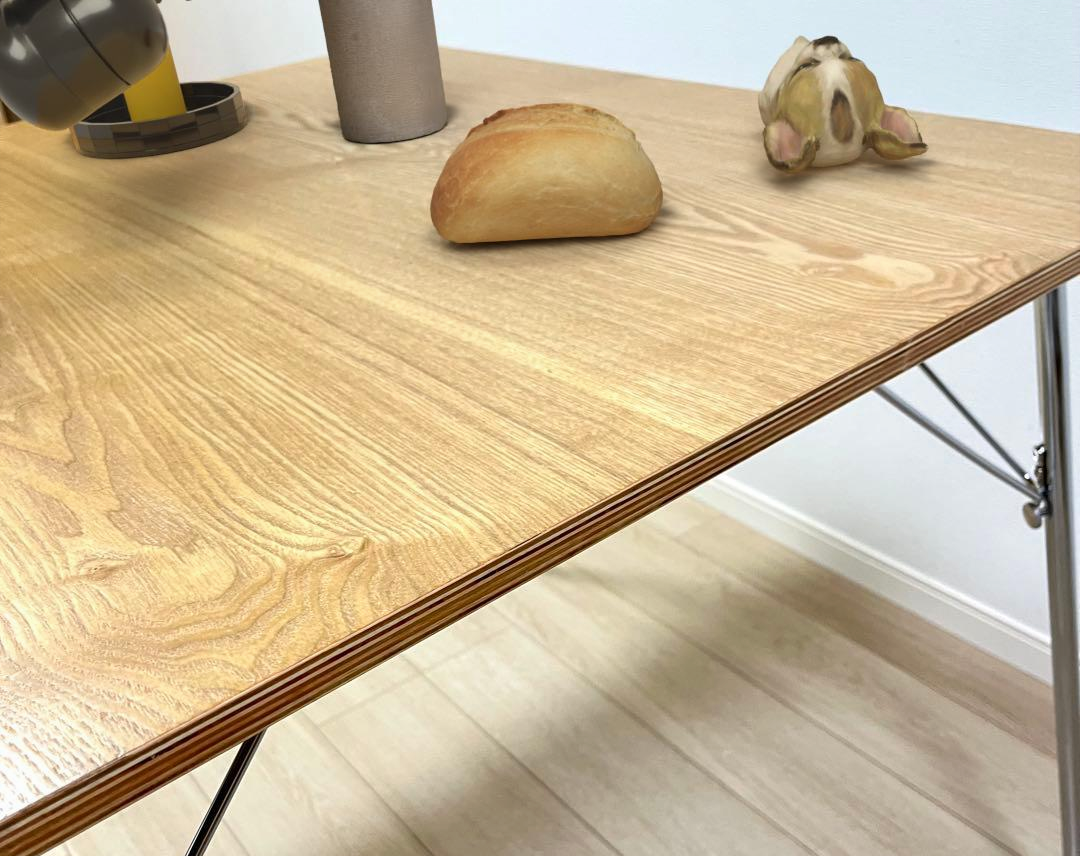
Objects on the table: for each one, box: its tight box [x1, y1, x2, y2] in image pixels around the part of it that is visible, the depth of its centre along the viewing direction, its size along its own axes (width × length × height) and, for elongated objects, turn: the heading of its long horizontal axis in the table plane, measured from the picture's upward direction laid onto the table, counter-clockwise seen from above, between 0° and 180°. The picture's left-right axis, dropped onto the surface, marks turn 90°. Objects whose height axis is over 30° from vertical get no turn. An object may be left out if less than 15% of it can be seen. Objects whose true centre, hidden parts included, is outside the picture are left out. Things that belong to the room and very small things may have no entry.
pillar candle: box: [317, 0, 448, 144], centre depth 99 cm, size 10×10×15 cm
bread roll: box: [429, 102, 664, 244], centre depth 73 cm, size 10×15×8 cm, turn 93°
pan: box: [68, 80, 248, 159], centre depth 109 cm, size 16×16×3 cm
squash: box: [124, 44, 187, 121], centre depth 107 cm, size 5×5×11 cm
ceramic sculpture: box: [757, 35, 929, 175], centre depth 80 cm, size 11×9×15 cm
